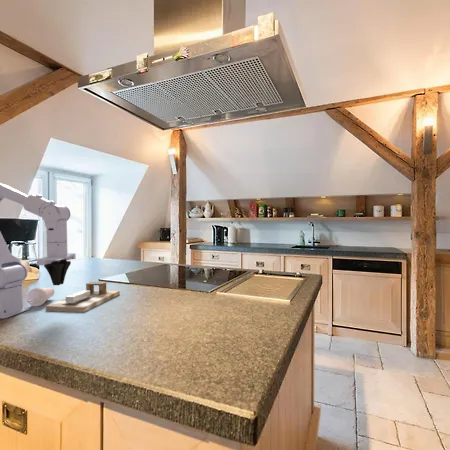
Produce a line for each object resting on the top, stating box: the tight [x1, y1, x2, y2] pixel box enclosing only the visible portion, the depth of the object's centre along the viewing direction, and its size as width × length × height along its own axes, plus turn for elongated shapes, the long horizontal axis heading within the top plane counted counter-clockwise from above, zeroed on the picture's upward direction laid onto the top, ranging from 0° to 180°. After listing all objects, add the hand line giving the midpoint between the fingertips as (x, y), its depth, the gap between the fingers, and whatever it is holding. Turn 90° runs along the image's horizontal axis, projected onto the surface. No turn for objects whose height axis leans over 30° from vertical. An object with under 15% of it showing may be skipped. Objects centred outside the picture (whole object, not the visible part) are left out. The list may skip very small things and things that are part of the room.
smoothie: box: [26, 287, 55, 308], centre depth 105 cm, size 6×6×14 cm
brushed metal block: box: [65, 290, 90, 303], centre depth 103 cm, size 9×3×2 cm, turn 170°
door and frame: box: [45, 281, 121, 313], centre depth 107 cm, size 22×14×6 cm, turn 170°
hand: (58, 284), depth 94 cm, fingers closed
